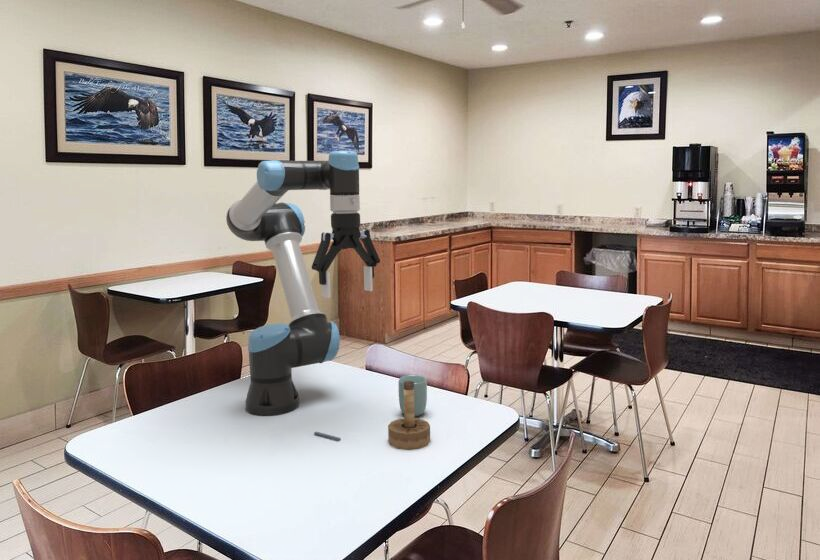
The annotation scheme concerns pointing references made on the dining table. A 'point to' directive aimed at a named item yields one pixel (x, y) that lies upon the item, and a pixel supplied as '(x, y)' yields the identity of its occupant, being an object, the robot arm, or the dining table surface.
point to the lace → (327, 436)
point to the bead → (409, 434)
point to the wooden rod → (409, 405)
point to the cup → (419, 393)
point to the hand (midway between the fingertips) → (348, 293)
